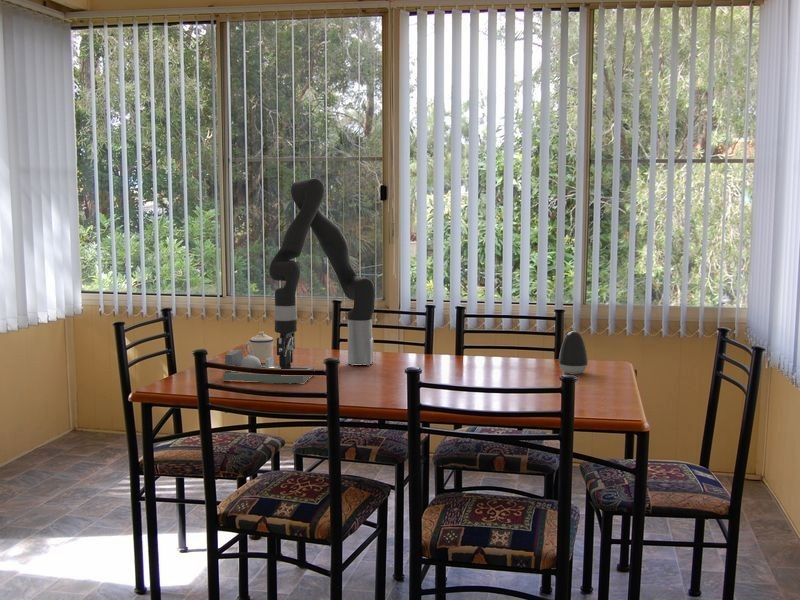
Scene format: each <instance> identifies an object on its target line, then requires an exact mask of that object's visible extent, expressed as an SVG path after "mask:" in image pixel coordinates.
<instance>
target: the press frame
mask: <svg viewBox="0 0 800 600" xmlns="http://www.w3.org/2000/svg"><path fill="white" fill-rule="evenodd" d="M242 358H244V356H243V349H234V350H232V351H229V352H228V353H226V354H225V355H224V360H225V361H224V365H225V364H226V365H235V366H239V362H240V361H241V359H242ZM274 367H278V368H281V369H282V367H280V366H278V365H274ZM262 368H265V365H262ZM291 369H307V370H314V371H315V366H291ZM224 371H225V370H224ZM222 376H223V381H224V380H244V381H258V382H267V383H266V384H274V383H289V384H288V385H292V384H291V383H304V382H305V381H306V380H307V379H309V377H311V376H281V375H265V374H249V373H238V372H231V371H225V372H223V375H222ZM309 380H310V379H309ZM304 384H305V383H304Z"/></svg>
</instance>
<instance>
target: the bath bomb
mask: <svg viewBox="0 0 800 600" xmlns="http://www.w3.org/2000/svg"><path fill="white" fill-rule="evenodd" d="M239 366H243V367H253V368H262V366H263V365H262V364H261V362H260V360H259V359H258V358H257V357H255V356H251V355H247V356H243V358H242V359H241V361H240V362H239Z"/></svg>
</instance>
